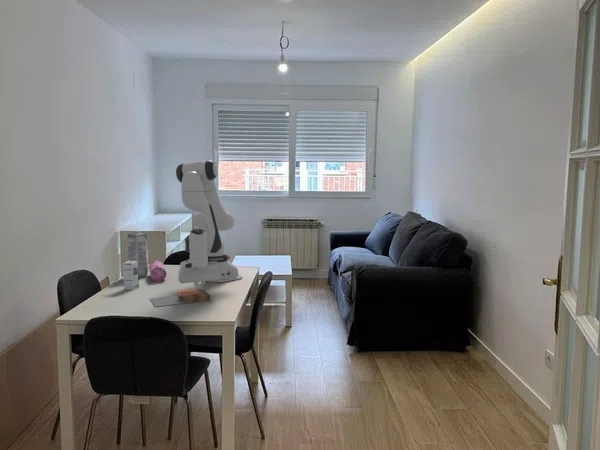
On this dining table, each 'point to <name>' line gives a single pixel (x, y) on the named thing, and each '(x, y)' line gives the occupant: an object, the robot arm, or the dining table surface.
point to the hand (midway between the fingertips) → (199, 290)
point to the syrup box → (131, 275)
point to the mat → (167, 301)
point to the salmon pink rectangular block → (187, 291)
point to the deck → (196, 297)
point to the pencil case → (157, 271)
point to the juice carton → (138, 251)
